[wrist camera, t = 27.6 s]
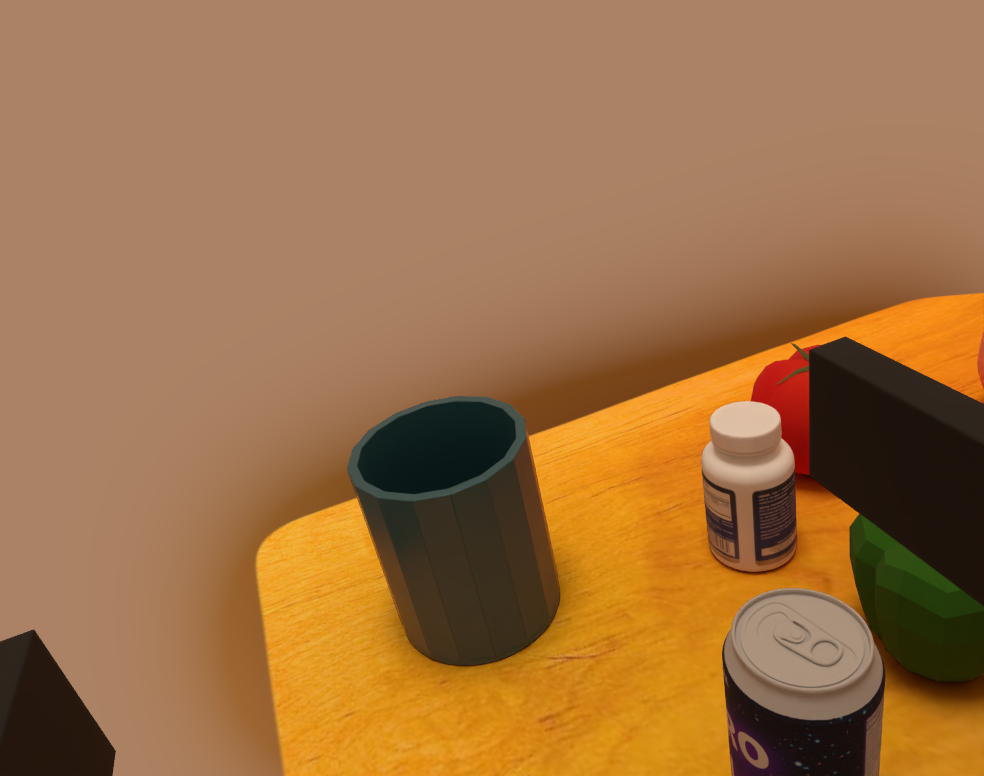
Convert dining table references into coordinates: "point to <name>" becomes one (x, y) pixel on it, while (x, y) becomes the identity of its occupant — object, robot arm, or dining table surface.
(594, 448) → the dining table surface
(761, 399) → the tomato
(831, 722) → the beverage can
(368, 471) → the tin
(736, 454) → the pill bottle
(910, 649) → the bell pepper
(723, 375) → the dining table surface
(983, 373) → the teapot
